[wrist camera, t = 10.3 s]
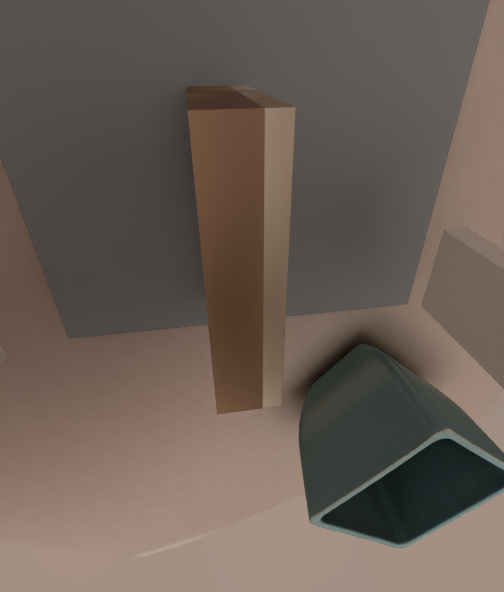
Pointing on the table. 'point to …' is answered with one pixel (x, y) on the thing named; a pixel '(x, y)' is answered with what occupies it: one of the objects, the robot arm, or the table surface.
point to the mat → (177, 146)
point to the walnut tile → (243, 236)
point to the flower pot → (390, 452)
